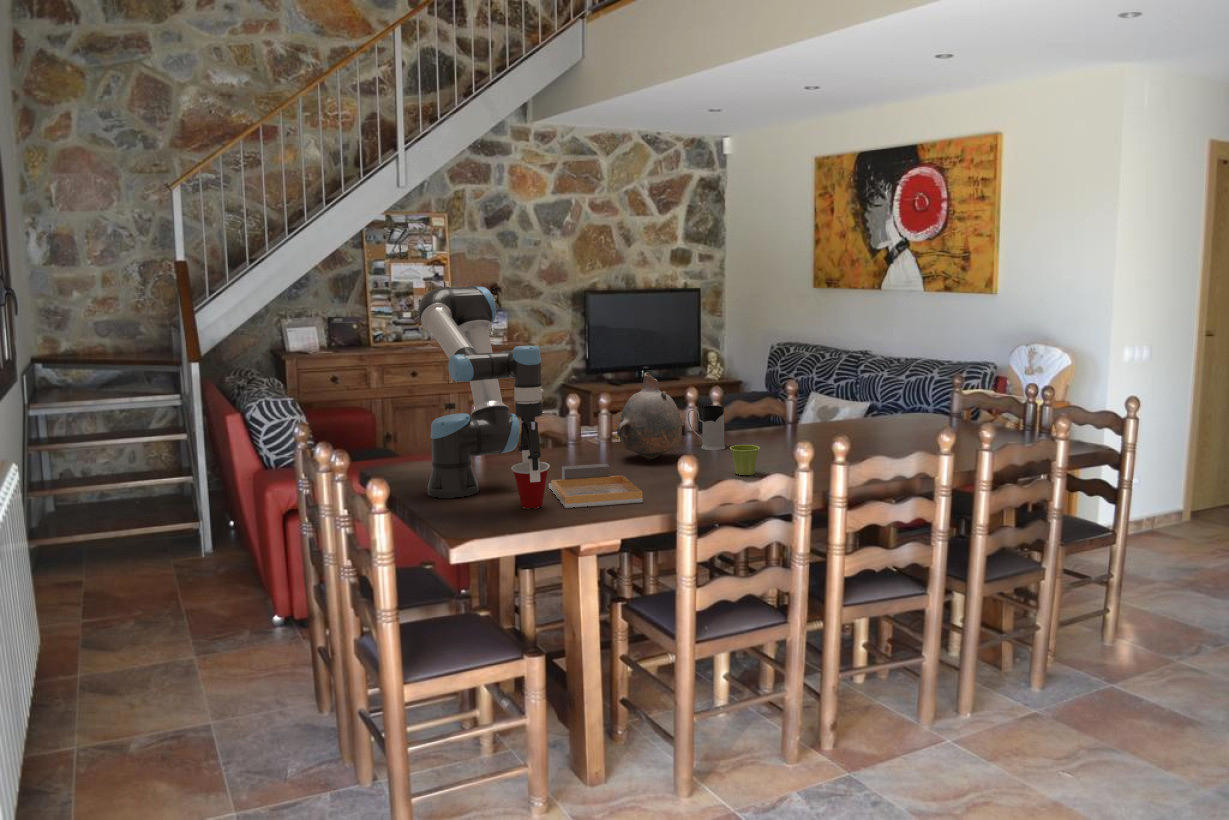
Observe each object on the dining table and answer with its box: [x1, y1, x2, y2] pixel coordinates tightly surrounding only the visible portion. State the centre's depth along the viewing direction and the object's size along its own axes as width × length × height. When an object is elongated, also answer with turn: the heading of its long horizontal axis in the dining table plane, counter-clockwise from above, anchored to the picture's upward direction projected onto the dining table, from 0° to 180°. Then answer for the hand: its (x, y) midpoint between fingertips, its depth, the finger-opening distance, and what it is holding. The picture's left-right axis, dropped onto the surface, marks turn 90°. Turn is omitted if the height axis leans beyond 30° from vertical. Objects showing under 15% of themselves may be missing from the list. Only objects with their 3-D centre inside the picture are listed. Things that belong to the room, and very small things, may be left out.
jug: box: [616, 372, 683, 460], centre depth 345 cm, size 24×21×30 cm
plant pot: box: [729, 444, 761, 476], centre depth 321 cm, size 9×9×9 cm
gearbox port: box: [548, 463, 644, 509], centre depth 297 cm, size 22×27×6 cm
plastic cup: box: [511, 461, 550, 508], centre depth 283 cm, size 11×11×12 cm
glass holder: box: [687, 405, 726, 451], centre depth 366 cm, size 9×14×15 cm, turn 65°
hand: (531, 477), depth 282 cm, fingers open, 13 cm apart
